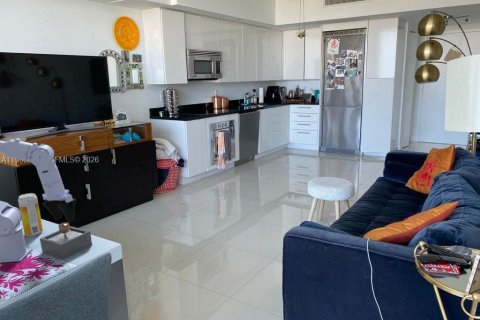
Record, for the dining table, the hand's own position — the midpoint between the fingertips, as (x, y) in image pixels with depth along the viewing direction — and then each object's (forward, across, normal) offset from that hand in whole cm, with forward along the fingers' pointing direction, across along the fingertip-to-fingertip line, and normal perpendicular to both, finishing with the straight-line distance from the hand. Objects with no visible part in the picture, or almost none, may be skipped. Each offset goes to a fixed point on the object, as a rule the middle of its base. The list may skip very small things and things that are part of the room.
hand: (65, 220), depth 121 cm
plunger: (+6, +1, +1) cm, 6 cm away
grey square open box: (+10, +2, +2) cm, 10 cm away
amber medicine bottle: (+8, +25, +1) cm, 26 cm away
